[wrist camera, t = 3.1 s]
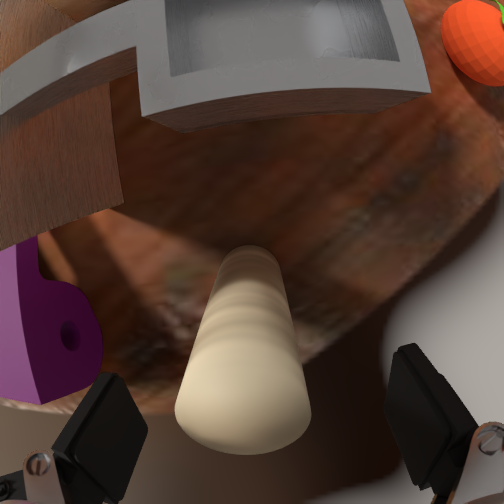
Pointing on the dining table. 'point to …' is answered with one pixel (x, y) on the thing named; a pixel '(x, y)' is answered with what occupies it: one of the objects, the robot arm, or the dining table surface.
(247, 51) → the cup bracket
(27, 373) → the mounting bracket
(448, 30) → the clementine
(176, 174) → the dining table surface
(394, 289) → the dining table surface
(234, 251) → the maple peg
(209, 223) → the dining table surface
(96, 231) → the dining table surface
